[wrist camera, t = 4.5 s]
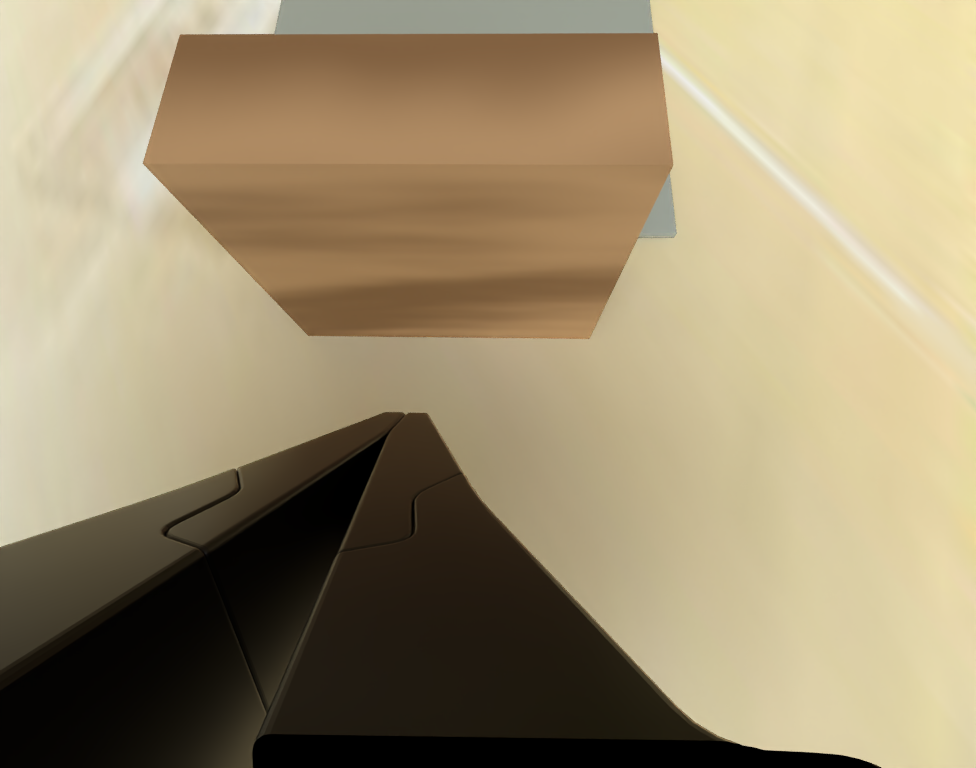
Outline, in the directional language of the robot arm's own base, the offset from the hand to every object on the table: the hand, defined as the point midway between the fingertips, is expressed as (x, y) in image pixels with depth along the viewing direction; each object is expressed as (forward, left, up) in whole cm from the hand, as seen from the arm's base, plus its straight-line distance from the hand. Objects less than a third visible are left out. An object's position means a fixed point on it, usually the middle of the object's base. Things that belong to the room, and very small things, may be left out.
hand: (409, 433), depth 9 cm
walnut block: (+8, -2, -10) cm, 13 cm away
